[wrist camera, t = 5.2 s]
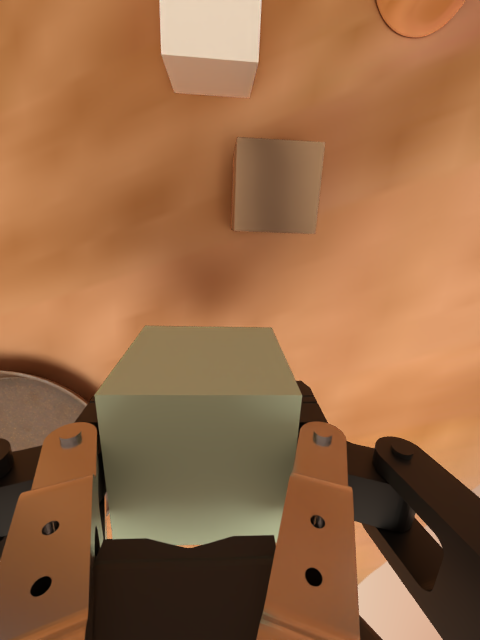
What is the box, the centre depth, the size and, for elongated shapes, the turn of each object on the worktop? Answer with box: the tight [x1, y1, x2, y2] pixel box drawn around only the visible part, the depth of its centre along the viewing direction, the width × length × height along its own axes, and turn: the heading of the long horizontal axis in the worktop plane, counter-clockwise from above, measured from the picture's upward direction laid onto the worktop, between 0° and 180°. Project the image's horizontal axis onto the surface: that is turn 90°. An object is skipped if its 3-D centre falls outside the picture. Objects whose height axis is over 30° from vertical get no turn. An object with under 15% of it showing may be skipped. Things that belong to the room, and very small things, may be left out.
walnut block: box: [231, 137, 325, 234], centre depth 20 cm, size 5×5×5 cm
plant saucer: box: [0, 371, 109, 516], centre depth 27 cm, size 18×18×3 cm
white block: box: [160, 0, 262, 98], centre depth 17 cm, size 5×5×5 cm
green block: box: [94, 326, 302, 545], centre depth 11 cm, size 5×5×5 cm
